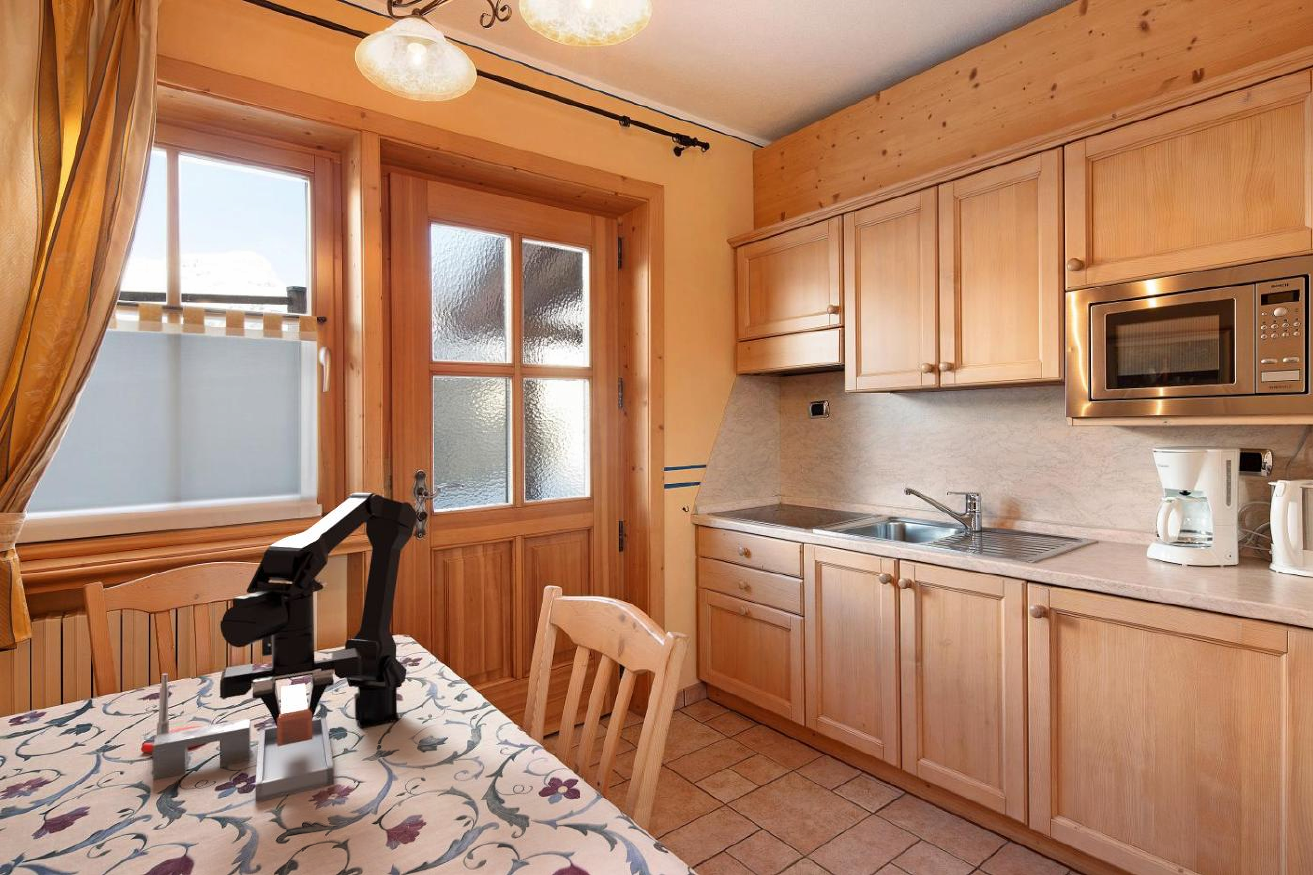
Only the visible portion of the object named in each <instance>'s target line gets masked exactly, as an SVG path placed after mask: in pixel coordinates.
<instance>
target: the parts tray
mask: <svg viewBox="0 0 1313 875" xmlns="http://www.w3.org/2000/svg"><path fill="white" fill-rule="evenodd" d="M312 737H313V739H312V740H307V741H302V742H297V743H292V744H287V745H282V746H277V726H276V725H273V726H268V727H263V728H259V732H258V744H257V745H258V746H257V756H256V758H257V760H256V770H255V773H256V774H255V786H254V787H255V792H254V793H255V803H258V802H262V801H266V800H270V799H275V798H276V799H277V798H279V797H283V796H284V797H285V796H288V795H292V794H297V793H301V792H304V791H310V790H315V789H318V788H322V787H323V788H324V787H326V786H331V785H334V781H335V780H334V764H333V763H334V762H333V756H332V750H331V749H332V748H331V744H330V743H331V742H330V736H329V729H328V722H327V716H322V717H315V718H313V719H312Z"/></svg>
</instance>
